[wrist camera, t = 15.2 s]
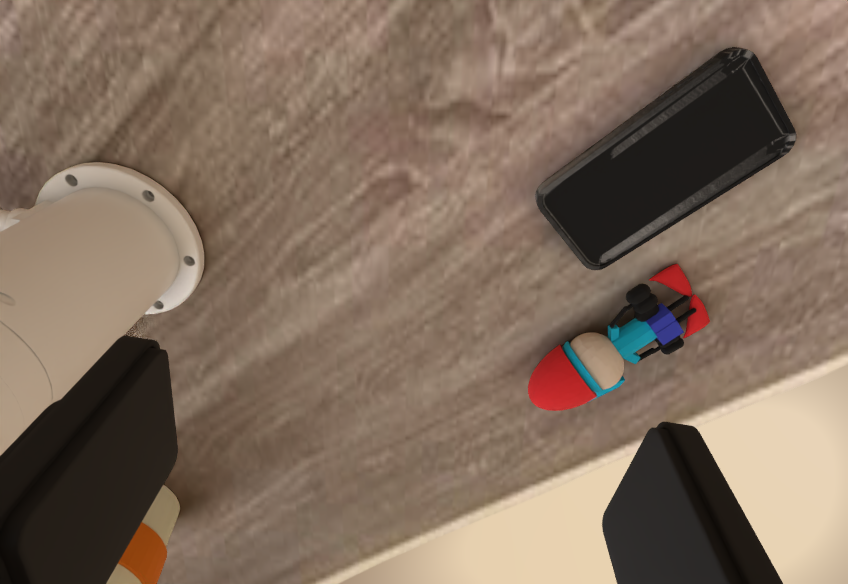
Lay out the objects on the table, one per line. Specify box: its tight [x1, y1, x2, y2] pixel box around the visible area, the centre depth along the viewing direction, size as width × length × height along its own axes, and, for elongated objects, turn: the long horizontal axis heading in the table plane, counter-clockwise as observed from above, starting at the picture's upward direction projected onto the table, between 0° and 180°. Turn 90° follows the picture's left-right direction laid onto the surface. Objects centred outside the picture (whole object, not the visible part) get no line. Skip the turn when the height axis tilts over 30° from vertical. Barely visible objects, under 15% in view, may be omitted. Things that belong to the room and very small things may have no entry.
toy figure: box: [528, 264, 710, 411], centre depth 41 cm, size 8×5×15 cm
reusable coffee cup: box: [106, 485, 180, 584], centre depth 52 cm, size 13×13×15 cm
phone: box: [536, 47, 796, 270], centre depth 35 cm, size 8×1×15 cm
